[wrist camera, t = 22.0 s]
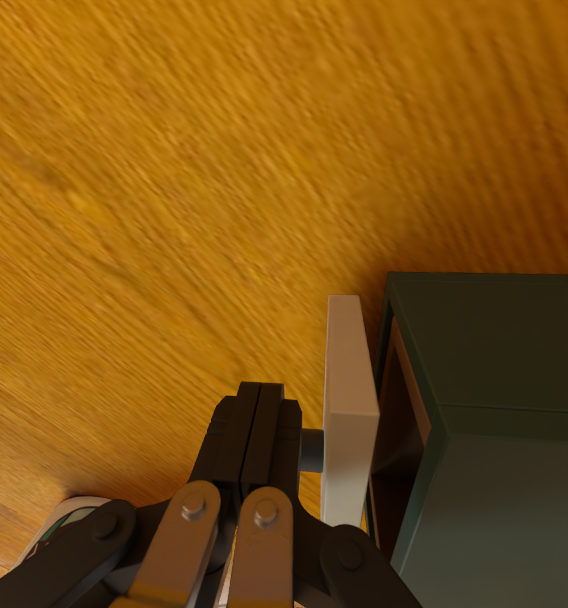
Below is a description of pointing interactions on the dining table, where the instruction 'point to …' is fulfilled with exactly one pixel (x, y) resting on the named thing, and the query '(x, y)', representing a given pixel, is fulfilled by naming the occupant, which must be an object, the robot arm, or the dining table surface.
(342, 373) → the drawer
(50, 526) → the mug
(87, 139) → the dining table surface
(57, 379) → the dining table surface
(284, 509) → the robot arm
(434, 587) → the cabinet
